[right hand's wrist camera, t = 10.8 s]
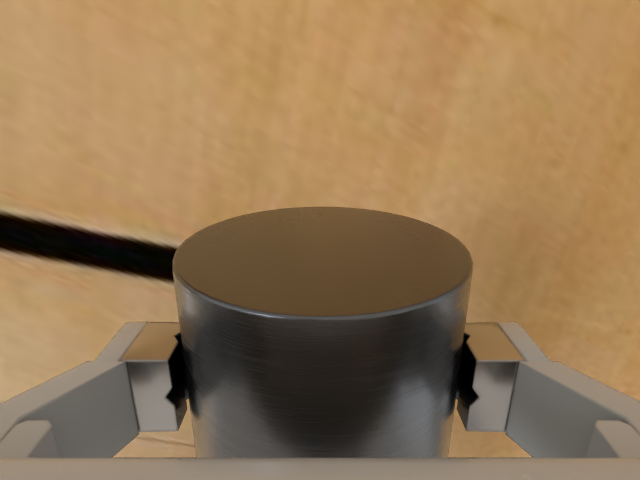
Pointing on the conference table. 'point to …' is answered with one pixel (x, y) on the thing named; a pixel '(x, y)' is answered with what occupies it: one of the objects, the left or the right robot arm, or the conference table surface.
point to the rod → (322, 334)
